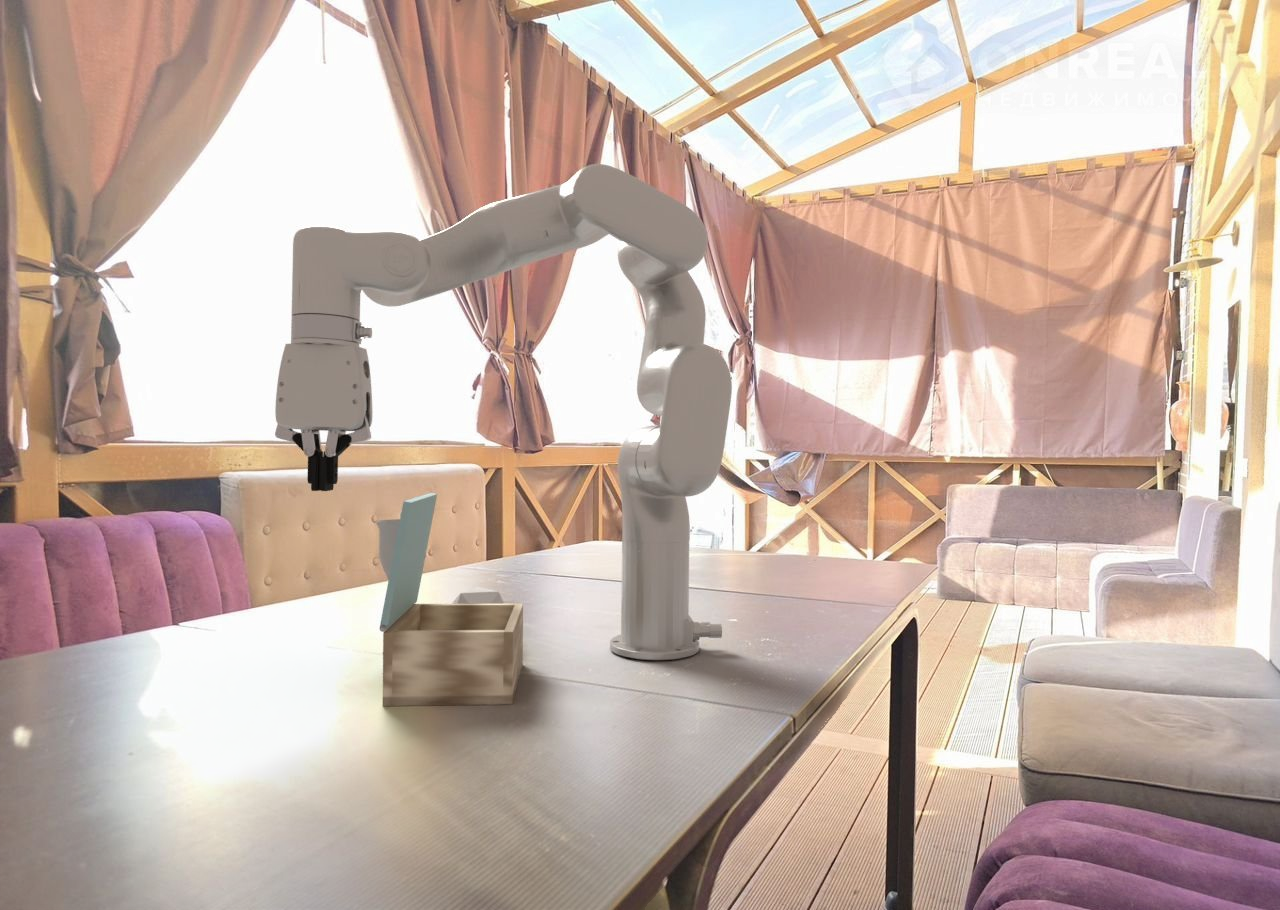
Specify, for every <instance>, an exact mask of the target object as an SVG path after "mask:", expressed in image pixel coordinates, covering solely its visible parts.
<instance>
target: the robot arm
mask: <svg viewBox="0 0 1280 910" xmlns="http://www.w3.org/2000/svg"><path fill="white" fill-rule="evenodd" d="M608 235H610V236H611V237H613V238H615V239H617V240H619V241H620V243H619V245H618V248H617V260H618V264H619V267H620V270H621V271H622V273H623V275H624V277H626V278H627V280H628V281H629V282H630V283H631V284H632V286H633V287H634V288H635V289H636V290H637V292H638V293H639V295H640V297H641V300H642V301H643V304H644V308H645V309H644V310H645V327H644V328H645V329H644V337H643V343H642V350H641V357H640V363H639V369H638V374H637V380H636V383H637V384H636V393H637V399H638V401H639V403H640V405H641V406H642V408H644V410H646V411H647V412H649V413H650V414H652V415H653V416H654V415H655V416H659V417H660V424H659V425H656V424H655V425H648V426H644V427H641V428H639V429H637V430H635V431H633V432H631V434H629V436H628V437H626V439H625V440H624V441H623V443H622V445H621V447H620V448H619V449H620V450H619V453H618V457H617V475H618V482H619V490H620V497H621V512H622V513H621V514H622V523H621V524H622V528H621V529H622V530H621V531H622V535H621V536H622V539H621V598H620V599H621V600H620V601H621V602H620V603H621V609H620V610H621V611H620V612H621V613H620V614H621V617H620V619H621V621H620V634H618V635H616V636H613V637H612V638H611V639H610V642H609V649H610V650H611V652H612V653H614V654H616V655H618V656H621V657H625V658H629V659H636V660H646V661H669V660H679V659H685V658H688V657H691V656H693V655H696V654H697V653H698V652H699V651H700V642H699V641H700V638H708V639H712V638H713V639H722V637H723V628H722V627H723V626H722V624H721V623H711V622H710V621H702V622H698V621H694V620H693V619H692V617H691V616H690V614H689V609H690V608H689V603H690V602H689V601H690V599H689V595H690V594H689V593H690V590H689V589H690V539H691V538H690V537H691V536H690V535H691V527H690V526H691V525H690V514H689V506H688V502H687V498H686V497H688V498H689V497H694V496H698V495H699V494H701V493H703V492H705V491H707V490H708V489H709V488H710V487H711V486H712V485H713V484H714V482H715V480H716V479H717V477H718V474H719V472H720V468H721V465H722V460H723V457H724V452H725V451H724V450H725V445H726V443H725V442H726V437H727V431H728V423H729V418H730V417H729V416H730V410H731V401H732V390H733V385H732V384H733V383H732V377H731V371H730V368H729V365H728V362H726V359H725V358H724V357H723V356H722V354H721V353H720V352H719V351H718V350H717V349H715V348H714V347H711V346H710V345H707V344H705V343H704V341H705V332H706V331H705V330H706V318H707V317H706V306H705V303H704V302H705V301H704V299H703V295H702V293H701V291H700V289H699V287H698V286H697V284H696V283H695V280H694V279H693V277H692V276H691V274H690V273H689V271H690V270H692V269H694V268H696V266H698V264H700V262H701V261H702V260H703V258H704V257H705V255H706V253H707V249H708V244H709V238H708V232H707V230H706V226H705V224H704V222H703V220H702V219H701V218H700V217H699V216H698V214H697V213H696V212H695V211H693V209H691V208H690V207H688V206H687V205H685V204H684V203H683V202H680V201H679V200H677V199H675V198H673V197H672V196H670V195H668V194H666V193H664V192H663V191H661V190H660V189H658V188H656V187H654V186H652V185H650V184H648V183H647V182H645V181H644V180H641V179H640V178H638V177H636V176H634V175H632V174H630V173H628V172H627V171H624V170H621V169H619V168H616V167H614V166H611V165H608V164H603V163H602V164H601V163H592V164H589V165H586V166H584V167H582V168H581V169H580V170H579V171H577V172H576V173H575V174H574V175H573V176H572V177H571V178H570V179H569V180H568V181H566V182H564V183H562V184H559V185H553V186H550V187H547V188H543V189H540V190H537V191H533V192H530V193H525V194H521V195H518V196H515V197H511V198H506V199H503V200H500V201H495V202H492V203H489V204H486V205H485V206H483V207H480V208H479V209H476V210H475V211H474V212H472V213H470V214H469V215H468V216H466V217H465V218H463V219H462V220H461V221H459V222H457V223H455V224H454V225H452V226H450V227H448V228H445V229H444V230H442V231H440V232H437V233H435V234H431V235H429V236H427V237H426V236H425V237H424V238H420V239H418V238H417V237H415V236H414V235H412V234H410V233H407V232H404V231H397V230H371V231H369V230H367V231H365V230H362V231H361V230H357V231H356V230H348V229H345V228H341V227H336V226H331V225H322V224H321V225H319V224H318V225H317V224H316V225H308V226H303V227H301V228H299V229H297V231H296V232H295V233H294V236H293V240H292V272H291V273H292V274H291V275H292V276H291V279H292V281H291V284H292V285H291V286H292V287H291V321H290V322H291V323H290V326H291V327H290V328H291V329H290V331H291V332H290V335H291V336H290V343H285V345H284V348H283V352H282V356H281V361H280V365H279V371H278V376H277V377H278V378H277V383H276V385H277V386H276V394H275V407H274V408H275V410H274V411H275V420H276V423H277V425H276V428H275V433H274V435H275V437H276V438H277V439H280V440H284V441H288V442H291V443H294V444H296V446H298V448H299V449H300V450H301V451H302V452H303V453H304V455H305V457H307V484H310V490H311V492H319V491H321V492H328V491H329V492H330V491H333V490H334V486H335V485H337V484H338V480H339V476H338V475H339V457H341V456H342V454H343V453H344V451H346V450H347V449H348V448H349V447H350V446H351V445H354V444H358V443H362V442H368V441H370V440H371V439H372V432H371V429H370V428H371V426H372V423H373V394H372V393H373V392H372V389H373V388H372V377H371V367H370V361H369V355H368V351H367V348H364V347H362V346H360V345H362V341H363V340H364V339H372V336H373V329H372V326H366V325H363V324H362V322H361V321H360V320H361V319H360V318H361V293H362V292H363V293H364V295H365V296H366V297H367V298H368V299H370V300H371V301H372V302H373V303H376V304H377V305H380V306H382V307H383V306H385V307H399V306H404V305H405V306H406V305H407V304H411V303H414V302H415V303H416V302H418V301H422V300H424V299H427V298H430V297H433V296H437V295H440V294H443V293H447V292H449V291H452V290H455V289H457V288H462V287H464V286H465V285H469V284H472V283H475V282H478V281H482V280H485V279H488V278H492V277H495V276H499V275H501V274H503V273H505V272H508V271H511V270H515V269H517V268H520V267H524V266H527V265H529V264H532V263H533V264H534V263H536V262H538V261H542V260H545V259H548V258H552V257H555V256H558V255H562V254H566V253H569V252H572V251H575V250H578V249H582V248H585V247H588V246H590V245H593V244H595V243H597V242H599V241H601V240H602V239H603V238H605V237H607V236H608ZM295 430H300V432H298V431H295ZM321 431H325V432H326V431H327V435H326V442H325V447H324V451H323V450H322V449H323V447H322V442H321V434H320V433H321ZM347 432H349V433H347Z"/></svg>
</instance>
